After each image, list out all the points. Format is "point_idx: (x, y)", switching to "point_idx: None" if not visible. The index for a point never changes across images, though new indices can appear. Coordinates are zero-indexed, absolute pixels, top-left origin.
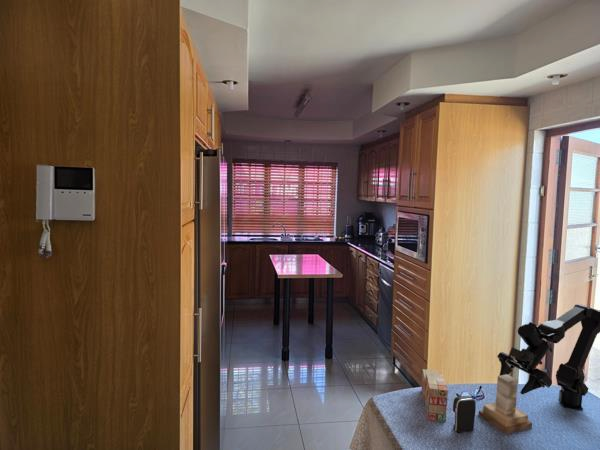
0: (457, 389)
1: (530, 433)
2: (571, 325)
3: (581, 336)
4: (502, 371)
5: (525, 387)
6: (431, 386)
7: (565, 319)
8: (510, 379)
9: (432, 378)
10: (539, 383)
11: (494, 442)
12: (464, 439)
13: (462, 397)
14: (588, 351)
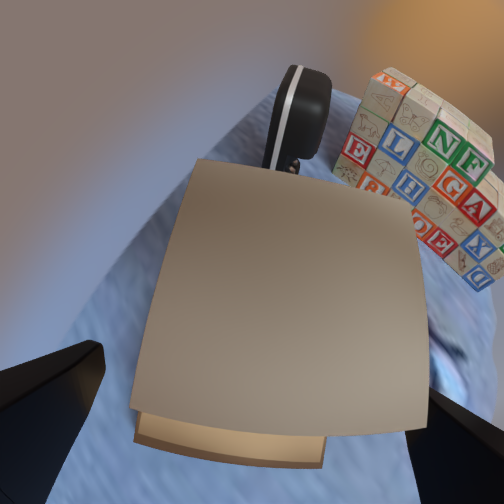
0: (479, 382)
1: (117, 384)
2: None
3: None
4: (495, 444)
5: (25, 367)
6: (400, 73)
7: None
8: (235, 270)
9: (454, 112)
10: None
11: (174, 203)
12: (239, 149)
13: (314, 76)
14: None
